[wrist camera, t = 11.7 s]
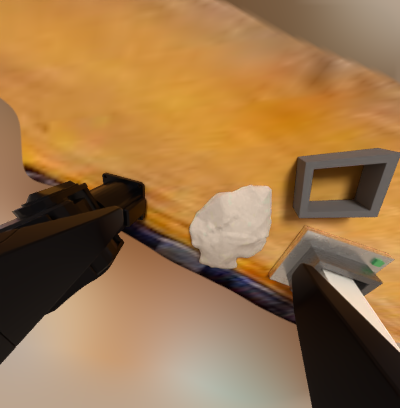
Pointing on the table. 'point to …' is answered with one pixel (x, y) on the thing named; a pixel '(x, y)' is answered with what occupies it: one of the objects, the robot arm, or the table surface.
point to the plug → (356, 300)
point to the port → (332, 259)
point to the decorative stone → (232, 226)
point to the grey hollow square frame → (366, 192)
